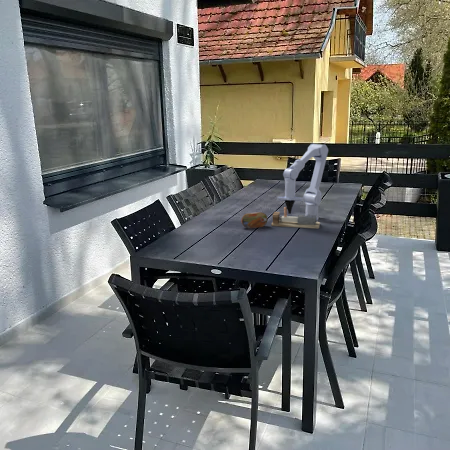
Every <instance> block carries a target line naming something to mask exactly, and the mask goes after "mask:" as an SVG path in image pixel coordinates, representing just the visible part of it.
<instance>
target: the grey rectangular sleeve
mask: <svg viewBox="0 0 450 450" xmlns="http://www.w3.org/2000/svg"><path fill="white" fill-rule="evenodd" d="M297 217H298V224H299V225H316V222H317V221H316V216H315V215H306V214H298V216H297Z"/></svg>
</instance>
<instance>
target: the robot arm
mask: <svg viewBox="0 0 450 450" xmlns="http://www.w3.org/2000/svg"><path fill="white" fill-rule="evenodd" d="M328 153H329V148H328V146H327V145H326V144H319V143H310V145H309V146H308V147H307V150H306V151H305V153H304V154H303V155H302V157H300V159H295V161H294V162H293V163H292V164H291V165H290V166H289V167H287V168H285V169H284V171H283V173H282V176H283V178H284V182H285V183H284V186H285V187H284V196H276V201H278V202H279V201H284V203H285V207H287V215H288V214H289V215H290V214H292V210H293V206H294V204H295V202H304V204H305V215H315V216H316V222H319V219H320V216H319V215H318V214H319V205H320V204H321V201H322V195H323V194H322V191H321V190H320V186H321V182H322V178H323V173H324V170H325V166H326V162H327V158H328ZM312 158H313V159H314V160H315V165H314V169H313V172H312V173H313V174H312V177H311V180H310V185H309V187H308V188H306V189H305V192H304V194H303V196H302V197H299V196H296V180H297V178H298V176H299V174H300V172H301V171H302V170H303V169H304V168H305V164H306V163H307V162H308V161H310V159H312Z"/></svg>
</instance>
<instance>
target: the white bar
mask: <svg viewBox="0 0 450 450" xmlns="http://www.w3.org/2000/svg"><path fill="white" fill-rule="evenodd" d="M280 221H282V222H298V216H288V209H287V206H284V207H283V215H280Z"/></svg>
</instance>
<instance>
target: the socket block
mask: <svg viewBox="0 0 450 450" xmlns="http://www.w3.org/2000/svg"><path fill="white" fill-rule="evenodd" d="M280 216H281V212H280V211H274V212H273V214H272V222H273V224H278V223H279V221H280Z"/></svg>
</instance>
